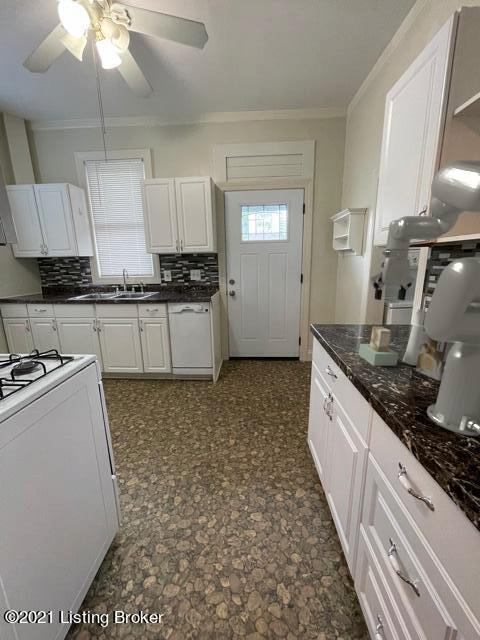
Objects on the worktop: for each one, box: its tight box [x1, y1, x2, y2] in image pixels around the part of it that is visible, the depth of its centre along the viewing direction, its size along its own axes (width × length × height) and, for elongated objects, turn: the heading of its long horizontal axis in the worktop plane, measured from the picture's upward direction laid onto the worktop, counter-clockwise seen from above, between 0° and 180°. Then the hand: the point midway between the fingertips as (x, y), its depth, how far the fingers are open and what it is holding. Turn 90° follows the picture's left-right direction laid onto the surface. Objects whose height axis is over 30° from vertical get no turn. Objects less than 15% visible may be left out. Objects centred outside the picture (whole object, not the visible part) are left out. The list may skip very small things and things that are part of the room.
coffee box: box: [415, 330, 455, 382], centre depth 96 cm, size 9×6×16 cm
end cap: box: [358, 343, 399, 367], centre depth 110 cm, size 12×10×5 cm
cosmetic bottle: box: [402, 309, 426, 366], centre depth 106 cm, size 6×6×22 cm
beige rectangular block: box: [369, 326, 392, 352], centre depth 108 cm, size 6×4×12 cm, turn 4°
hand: (389, 299), depth 104 cm, fingers open, 9 cm apart
